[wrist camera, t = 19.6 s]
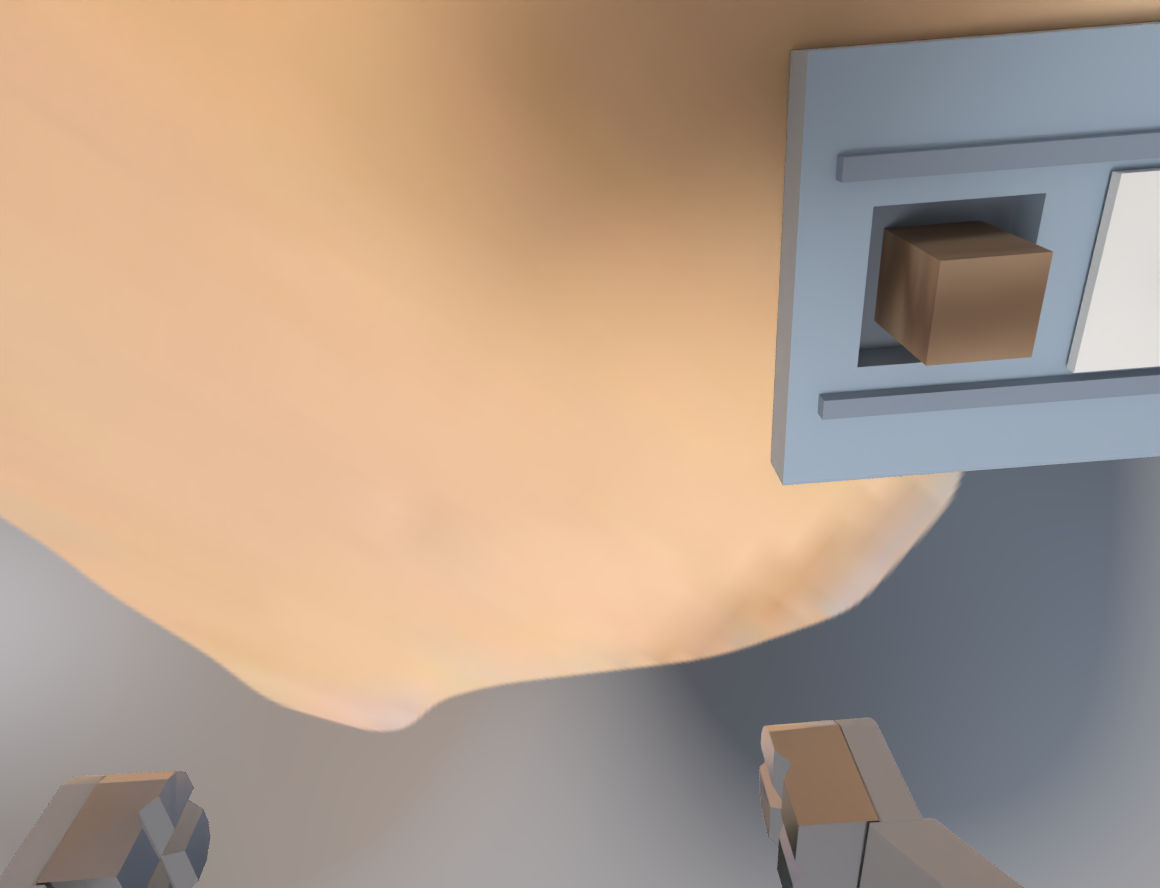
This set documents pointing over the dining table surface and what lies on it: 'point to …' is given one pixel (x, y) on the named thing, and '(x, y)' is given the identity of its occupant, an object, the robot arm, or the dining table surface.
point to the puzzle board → (948, 195)
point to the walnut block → (961, 291)
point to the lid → (1123, 280)
